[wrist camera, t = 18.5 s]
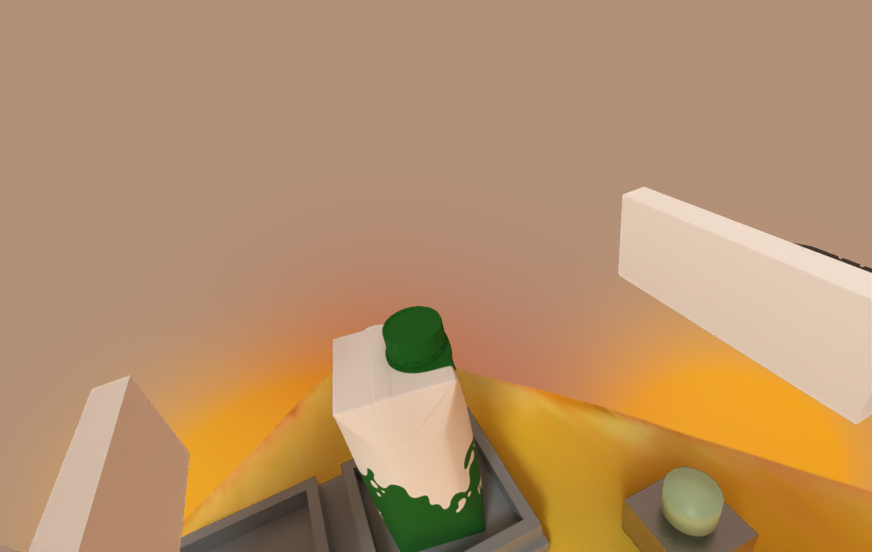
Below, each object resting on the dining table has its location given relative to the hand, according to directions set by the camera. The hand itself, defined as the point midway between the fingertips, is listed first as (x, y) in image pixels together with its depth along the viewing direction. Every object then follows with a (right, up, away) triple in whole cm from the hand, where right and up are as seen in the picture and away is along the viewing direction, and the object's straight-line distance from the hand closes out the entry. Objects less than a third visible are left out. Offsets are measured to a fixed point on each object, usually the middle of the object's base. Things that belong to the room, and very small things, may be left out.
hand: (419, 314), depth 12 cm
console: (+19, -20, +23) cm, 36 cm away
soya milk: (0, -19, +28) cm, 34 cm away
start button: (+18, -16, +20) cm, 31 cm away
